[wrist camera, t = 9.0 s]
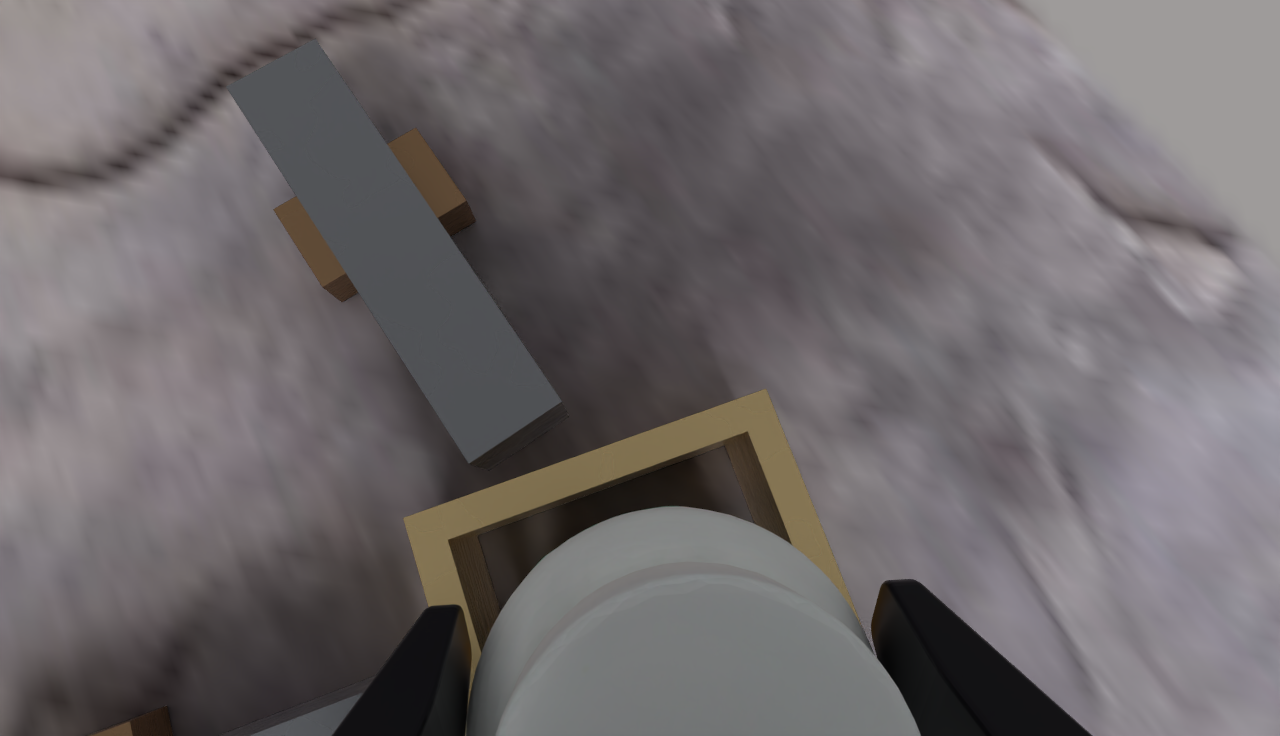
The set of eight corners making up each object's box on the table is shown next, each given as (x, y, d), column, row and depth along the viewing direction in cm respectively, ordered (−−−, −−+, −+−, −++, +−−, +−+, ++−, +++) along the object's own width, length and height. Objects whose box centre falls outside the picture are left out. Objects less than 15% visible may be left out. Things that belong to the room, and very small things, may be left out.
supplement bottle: (649, 828, 14) (714, 1414, 5) (477, 636, 15) (249, 829, 6) (819, 635, 15) (1146, 819, 6) (651, 463, 16) (703, 382, 7)
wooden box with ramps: (23, 1078, 14) (-157, 1248, 11) (-104, 258, 17) (-268, 199, 14) (864, 724, 16) (928, 778, 13) (600, 53, 19) (597, -40, 16)
